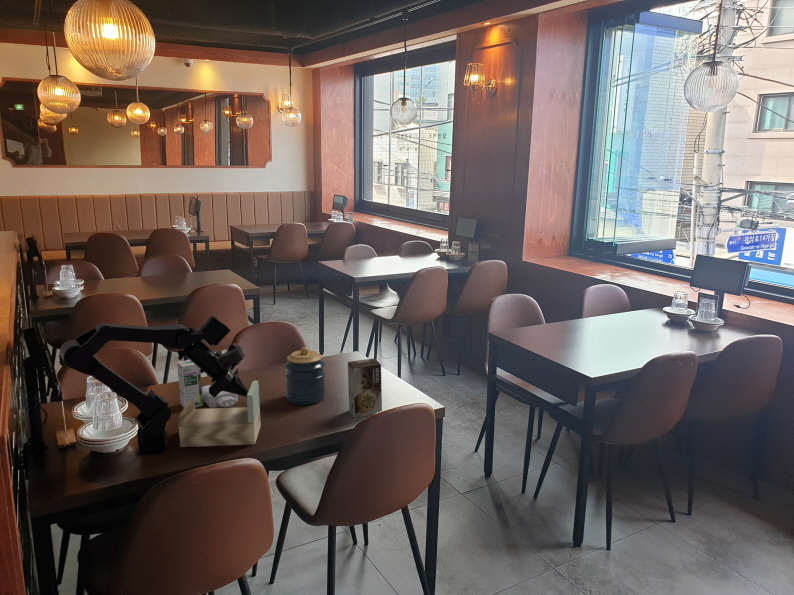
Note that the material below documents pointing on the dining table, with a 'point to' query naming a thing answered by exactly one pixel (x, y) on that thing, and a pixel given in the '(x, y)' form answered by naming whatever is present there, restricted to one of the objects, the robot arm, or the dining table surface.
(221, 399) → the charger
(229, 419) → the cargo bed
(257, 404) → the pale green flat block
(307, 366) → the canister
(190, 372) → the syrup box
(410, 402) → the dining table surface
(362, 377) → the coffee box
